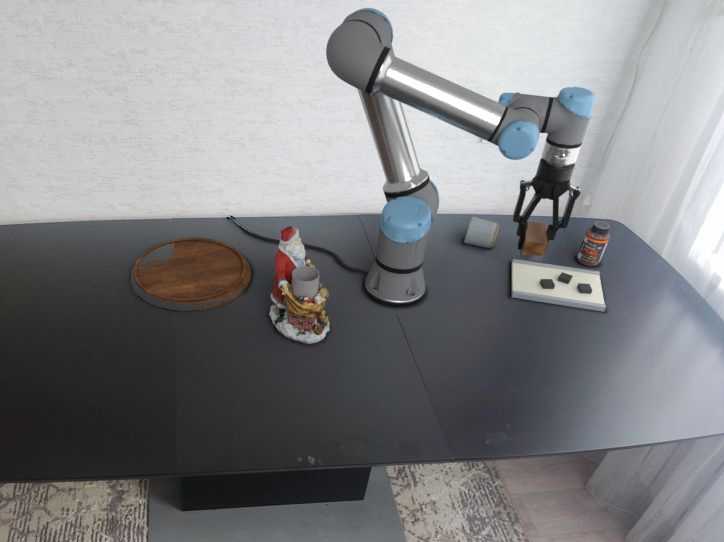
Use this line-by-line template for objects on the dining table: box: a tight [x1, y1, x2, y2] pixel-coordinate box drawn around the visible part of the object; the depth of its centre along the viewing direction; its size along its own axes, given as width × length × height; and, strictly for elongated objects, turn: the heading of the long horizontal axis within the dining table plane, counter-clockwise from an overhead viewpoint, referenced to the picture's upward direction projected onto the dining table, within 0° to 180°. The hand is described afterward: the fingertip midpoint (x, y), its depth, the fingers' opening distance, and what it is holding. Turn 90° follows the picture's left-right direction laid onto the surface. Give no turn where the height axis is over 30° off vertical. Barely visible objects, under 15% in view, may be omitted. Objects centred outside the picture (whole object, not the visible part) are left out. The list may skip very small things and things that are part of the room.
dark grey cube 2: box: [557, 272, 573, 284], centre depth 171 cm, size 3×3×1 cm
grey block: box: [540, 279, 555, 289], centre depth 169 cm, size 3×3×1 cm
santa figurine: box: [268, 225, 331, 345], centre depth 151 cm, size 17×14×25 cm
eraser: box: [520, 220, 549, 262], centre depth 163 cm, size 5×10×5 cm, turn 163°
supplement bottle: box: [576, 220, 611, 267], centre depth 176 cm, size 6×6×11 cm
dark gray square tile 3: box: [577, 283, 592, 294], centre depth 167 cm, size 3×3×1 cm
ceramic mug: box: [463, 215, 500, 249], centre depth 185 cm, size 11×8×8 cm
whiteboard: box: [510, 258, 607, 313], centre depth 170 cm, size 22×16×1 cm
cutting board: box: [133, 237, 252, 312], centre depth 174 cm, size 32×32×2 cm
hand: (531, 248), depth 164 cm, fingers closed on eraser, 5 cm apart
